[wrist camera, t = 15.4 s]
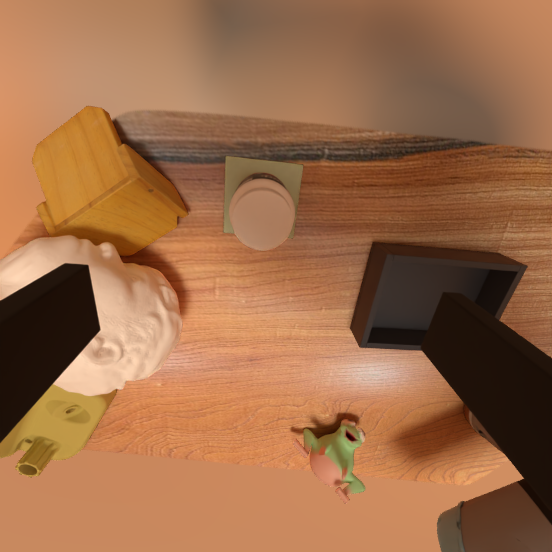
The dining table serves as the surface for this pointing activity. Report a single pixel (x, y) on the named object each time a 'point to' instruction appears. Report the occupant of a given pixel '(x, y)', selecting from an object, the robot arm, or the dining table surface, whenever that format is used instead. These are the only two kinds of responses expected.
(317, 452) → the frog
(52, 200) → the orange boxy piece
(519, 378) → the robot arm
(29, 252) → the bust
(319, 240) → the dining table surface
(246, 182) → the pill bottle
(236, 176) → the mat
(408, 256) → the tote
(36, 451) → the plastic component
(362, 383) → the dining table surface
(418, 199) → the dining table surface
